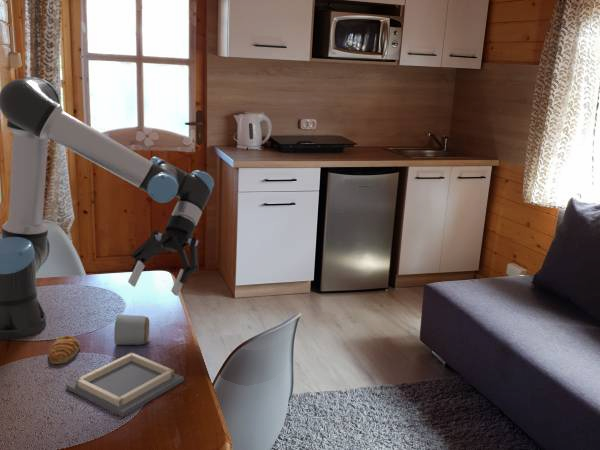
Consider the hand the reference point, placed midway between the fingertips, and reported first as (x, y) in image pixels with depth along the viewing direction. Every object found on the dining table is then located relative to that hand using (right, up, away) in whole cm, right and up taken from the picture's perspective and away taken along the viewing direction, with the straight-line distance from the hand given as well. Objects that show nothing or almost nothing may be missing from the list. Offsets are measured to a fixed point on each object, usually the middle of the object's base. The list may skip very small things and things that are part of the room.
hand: (152, 288), depth 159 cm
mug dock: (0, -19, -24) cm, 30 cm away
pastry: (-19, -15, -12) cm, 27 cm away
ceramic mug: (-5, -13, -3) cm, 14 cm away
